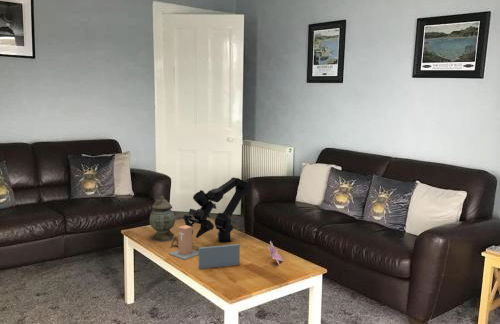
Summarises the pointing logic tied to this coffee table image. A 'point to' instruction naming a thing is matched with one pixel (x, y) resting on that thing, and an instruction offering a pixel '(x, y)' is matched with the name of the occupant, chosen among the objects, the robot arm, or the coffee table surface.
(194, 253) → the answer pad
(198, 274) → the coffee table surface
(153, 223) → the lidded urn
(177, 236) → the lion figurine
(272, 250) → the lily
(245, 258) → the coffee table surface
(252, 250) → the coffee table surface
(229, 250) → the screen
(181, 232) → the salmon pink tall block
